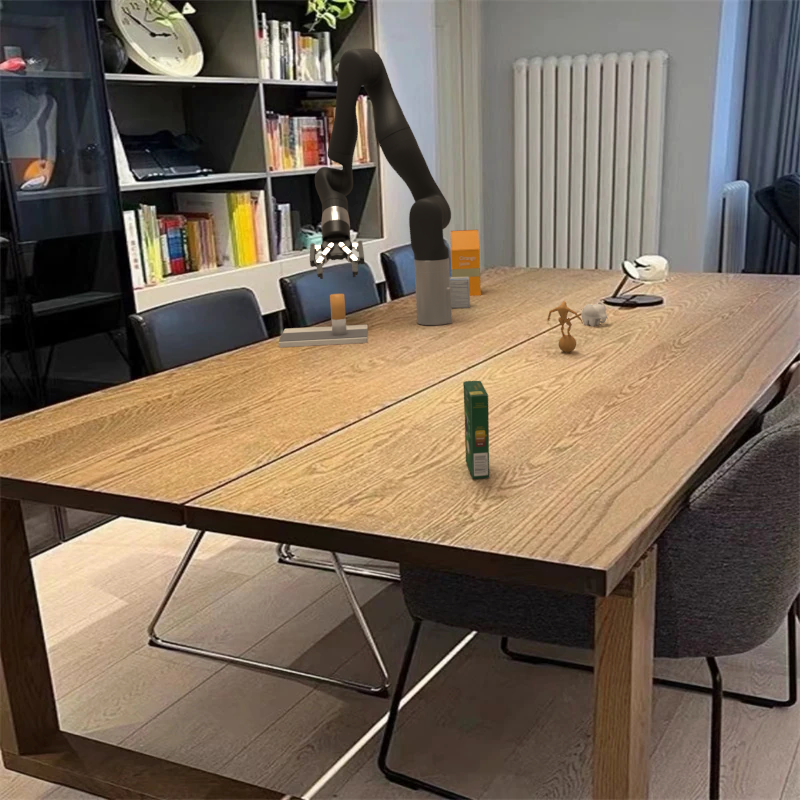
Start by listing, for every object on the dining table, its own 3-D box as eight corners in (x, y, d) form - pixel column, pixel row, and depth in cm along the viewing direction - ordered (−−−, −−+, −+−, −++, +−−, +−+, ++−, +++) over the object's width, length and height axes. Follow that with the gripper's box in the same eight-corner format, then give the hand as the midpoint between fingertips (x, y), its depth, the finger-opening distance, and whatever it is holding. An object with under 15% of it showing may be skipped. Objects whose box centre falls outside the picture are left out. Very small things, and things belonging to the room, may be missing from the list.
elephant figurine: (597, 329, 242) (598, 305, 240) (572, 325, 248) (572, 302, 246) (614, 325, 246) (614, 302, 245) (589, 321, 252) (589, 299, 251)
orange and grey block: (346, 332, 247) (344, 293, 244) (346, 334, 243) (343, 295, 240) (332, 332, 246) (330, 294, 244) (332, 335, 243) (329, 296, 240)
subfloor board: (367, 328, 257) (367, 323, 256) (367, 342, 239) (367, 337, 239) (285, 333, 256) (284, 328, 256) (278, 347, 239) (278, 341, 239)
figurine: (588, 351, 218) (588, 299, 215) (578, 357, 213) (578, 303, 210) (553, 349, 222) (553, 297, 219) (543, 354, 218) (542, 302, 214)
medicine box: (470, 305, 284) (469, 276, 282) (469, 308, 280) (469, 278, 277) (443, 306, 285) (442, 277, 283) (442, 309, 281) (441, 279, 278)
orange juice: (480, 295, 301) (479, 230, 295) (452, 296, 301) (450, 232, 296) (479, 291, 308) (477, 228, 303) (451, 292, 308) (449, 229, 303)
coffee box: (491, 479, 141) (489, 393, 138) (471, 480, 141) (469, 394, 138) (483, 461, 149) (481, 379, 146) (465, 462, 149) (462, 380, 145)
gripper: (307, 220, 255) (308, 269, 246) (361, 216, 255) (364, 265, 247) (310, 238, 261) (311, 286, 253) (363, 235, 261) (365, 283, 253)
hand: (337, 276), depth 250 cm, fingers open, 8 cm apart
